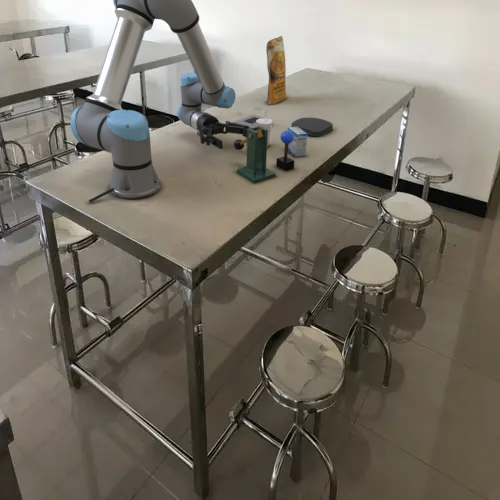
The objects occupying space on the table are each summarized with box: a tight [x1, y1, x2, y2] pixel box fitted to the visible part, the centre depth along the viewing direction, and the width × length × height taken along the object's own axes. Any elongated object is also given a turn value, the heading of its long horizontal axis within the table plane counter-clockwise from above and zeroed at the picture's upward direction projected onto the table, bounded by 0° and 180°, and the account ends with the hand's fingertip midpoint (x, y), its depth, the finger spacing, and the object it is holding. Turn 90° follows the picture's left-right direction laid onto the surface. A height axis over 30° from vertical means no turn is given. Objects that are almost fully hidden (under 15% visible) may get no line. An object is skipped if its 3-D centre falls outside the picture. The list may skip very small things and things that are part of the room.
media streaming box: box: [290, 117, 334, 137], centre depth 201 cm, size 15×15×3 cm
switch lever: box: [233, 129, 263, 151], centre depth 162 cm, size 15×4×4 cm
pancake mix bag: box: [265, 35, 287, 105], centre depth 227 cm, size 7×19×28 cm, turn 149°
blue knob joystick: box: [275, 130, 295, 172], centre depth 166 cm, size 4×5×13 cm
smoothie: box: [256, 108, 274, 148], centre depth 182 cm, size 6×6×14 cm
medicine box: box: [287, 126, 309, 158], centre depth 179 cm, size 8×4×9 cm, turn 23°
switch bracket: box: [236, 126, 276, 184], centre depth 160 cm, size 10×9×16 cm
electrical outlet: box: [232, 114, 268, 130], centre depth 203 cm, size 13×10×2 cm
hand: (238, 141), depth 166 cm, fingers open, 13 cm apart
